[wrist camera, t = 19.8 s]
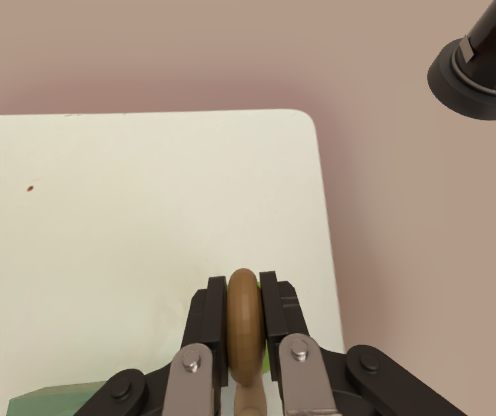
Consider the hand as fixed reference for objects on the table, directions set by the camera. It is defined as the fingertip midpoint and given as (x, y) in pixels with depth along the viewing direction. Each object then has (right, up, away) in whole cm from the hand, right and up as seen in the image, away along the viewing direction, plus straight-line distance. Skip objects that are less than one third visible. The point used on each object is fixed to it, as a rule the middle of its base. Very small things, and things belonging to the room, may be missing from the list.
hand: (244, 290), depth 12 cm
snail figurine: (0, -5, +7) cm, 8 cm away
